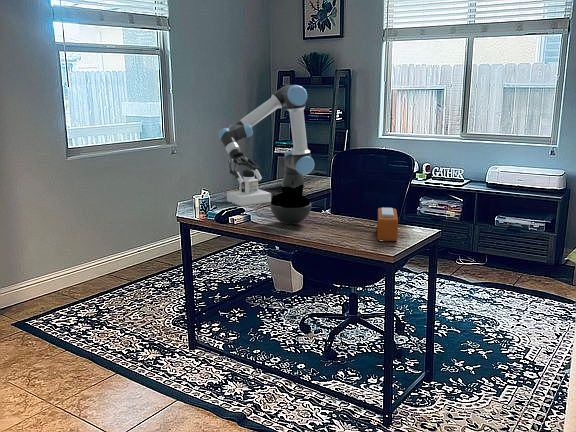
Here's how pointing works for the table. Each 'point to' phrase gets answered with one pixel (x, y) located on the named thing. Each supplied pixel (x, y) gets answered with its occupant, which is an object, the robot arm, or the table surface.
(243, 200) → the block
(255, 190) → the container
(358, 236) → the table surface
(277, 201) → the bowl of black rocks
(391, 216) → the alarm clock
